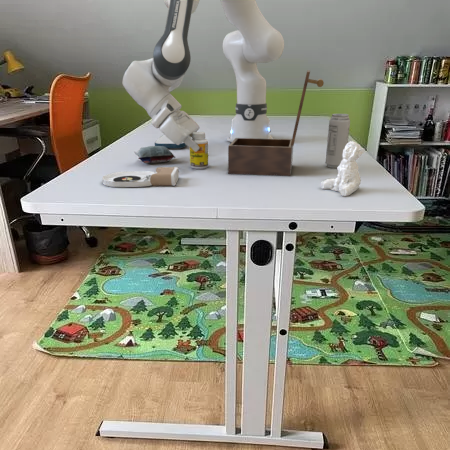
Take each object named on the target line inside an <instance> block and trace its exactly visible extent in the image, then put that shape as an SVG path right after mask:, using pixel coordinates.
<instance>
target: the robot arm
mask: <svg viewBox="0 0 450 450" xmlns="http://www.w3.org/2000/svg"><path fill="white" fill-rule="evenodd" d="M163 2H164V5H165V6H166V7H167V16H166V21H165V27H164V32H163V34H162V36H160V39H159V40H158V41H157V42H156V44H155V46H154V48H153V52H152V57H151V58H148V59H145V60H133V61H131V62H130V63H129V64H128V65H127V67H126V68H125V70H124V71H123V74H122V78H121V82H122V83H121V84H122V86H123V88H124V89H125V91H126V92H127V94H129V96H130V97H131V98H132V99H133V100H134V102H136V104H137V105H139V106H140V107H141V108H143V109H144V110H145V111H146V113H147V115H148V116H149V117H150V118H151V125H152V126H153V127H154V128H155V129H159V131H160V132H161V133H162V135H163V134H164V135H165V136H167V137H168V138H169V139H170V140H171V141H172V142H173V143H175V144H177V145H179V144H181V143H182V142H184V143H185V144H186V146H187V147H189V149H190V148H192V149H193V150H194V151H195V152H197V151H198V150H199V149H200V146H199V145H198V144H197V143H195V142H194V141H193V140H192V139H193V138H192V133H193V132H199V130H200V125H199V124H198V123H197V121H195V120H194V118H192V117H191V116H190V115H189V114H188V113H187V112H186V111H184V110H181V109H182V107H183V106H182V104H181V103H180V102H179V101H178V100H177V99H176V98H175V97H174V96H173V95H172V94H171V92H172V91H174V90H176V89H177V88H179V87H180V85H181V84H182V83H183V80H184V77H185V75H186V73H187V71H188V69H189V67H190V65H191V61H192V60H191V57H192V56H191V50H190V47H189V42H188V41H189V40H188V37H189V29H190V24H191V17H192V14H194V13H195V12H196V11H197V8H198V7H199V3H200V0H163ZM220 4H221V6H222V7H221V8H222V10H223V12H224V15H225V19H226V20H227V21H228V22H229V24H231V25H233V26H234V27H235V28H236V30H233V31H231V32H228V33H227V34H226V35H225V37H224V38H223V41H222V53H223V55H224V57H225V58H226V59H227V61H229V63H230V65H231V68H232V70H233V73H234V76H235V82H236V103H235V108H234V109H235V116H234V117H233V118H232V119H231V129H230V137H229V136H228V137H227V138H226V142H229V143H231V142H232V141H233V140H234V139H235V138H259V139H274V137H273V135H271V133H272V130H271V129H270V127H271V120H270V117H268V116H267V112H268V104H267V81H266V78H265V77H263V76H262V74H261V73H260V72H259V69H258V65H257V64H268V63H272V62H275V61H278V60H279V59H280V58H281V56H282V55H283V53H284V49H285V39H284V37H283V35H282V33H281V32H280V31H279V30H277V29H276V28H275V27H274V26H272V25H271V24H270V23H269V21H268V20H267V19H266V18H265V16H264V15H263V13H262V12H261V9H260V8H259V6H258V3H257V1H256V0H220Z"/></svg>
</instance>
